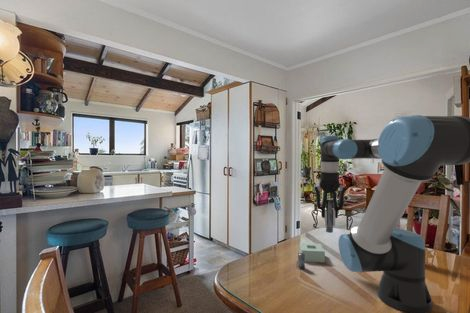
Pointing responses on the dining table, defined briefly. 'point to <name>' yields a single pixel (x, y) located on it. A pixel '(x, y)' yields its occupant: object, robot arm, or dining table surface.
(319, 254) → the hole block
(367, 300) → the dining table surface
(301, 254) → the short pin
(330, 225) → the long pin
